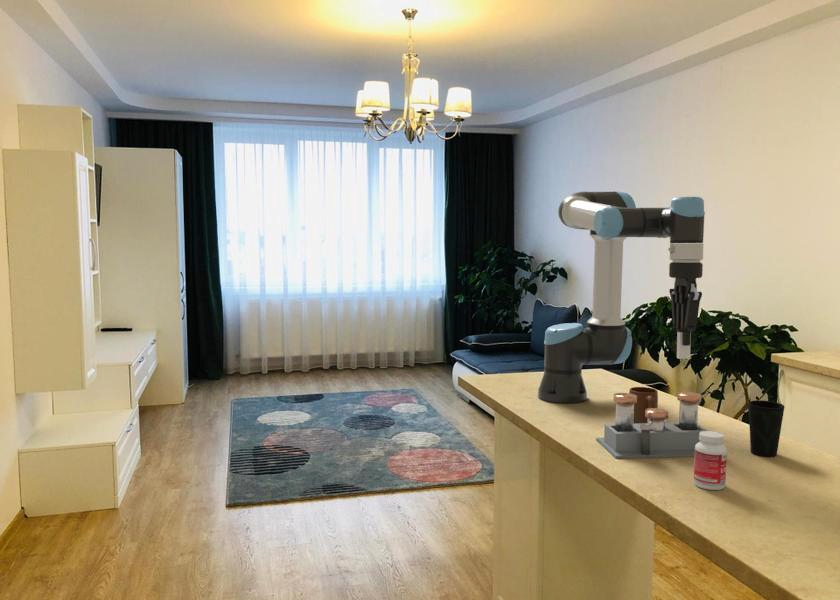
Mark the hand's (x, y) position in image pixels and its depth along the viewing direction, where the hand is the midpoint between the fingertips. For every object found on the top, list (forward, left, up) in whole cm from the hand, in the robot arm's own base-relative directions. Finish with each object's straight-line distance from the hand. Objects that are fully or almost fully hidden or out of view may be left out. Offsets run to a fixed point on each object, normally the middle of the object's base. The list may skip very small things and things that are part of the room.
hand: (683, 358), depth 168 cm
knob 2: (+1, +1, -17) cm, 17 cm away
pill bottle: (+26, -6, -22) cm, 35 cm away
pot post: (+7, -12, -21) cm, 25 cm away
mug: (-18, -2, -22) cm, 29 cm away
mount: (+1, -7, -22) cm, 23 cm away
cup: (+7, +17, -22) cm, 29 cm away
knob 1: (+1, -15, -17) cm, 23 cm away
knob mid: (+1, -7, -21) cm, 22 cm away
